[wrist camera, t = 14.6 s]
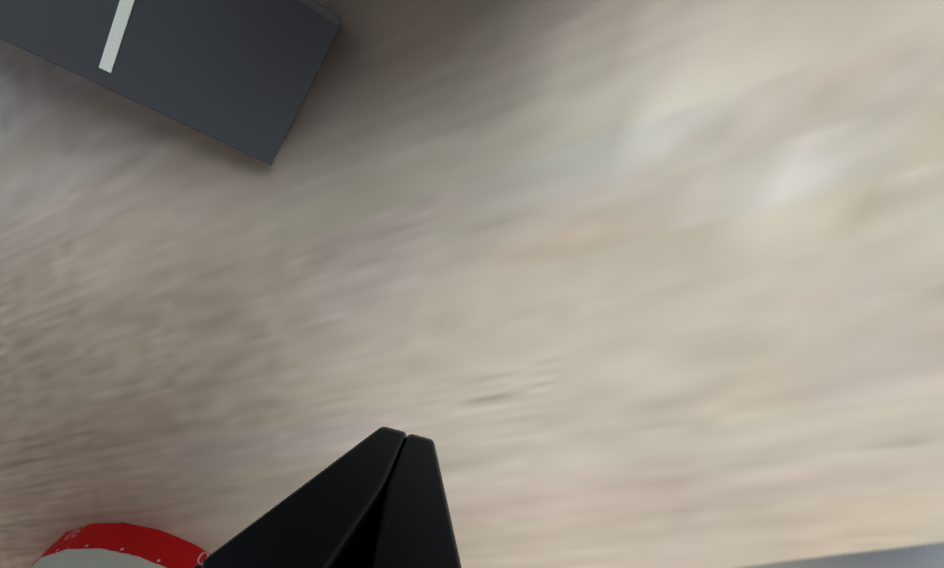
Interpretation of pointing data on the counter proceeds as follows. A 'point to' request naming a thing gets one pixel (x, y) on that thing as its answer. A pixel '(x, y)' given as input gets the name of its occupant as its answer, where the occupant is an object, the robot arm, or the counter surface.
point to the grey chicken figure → (120, 549)
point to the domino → (188, 57)
